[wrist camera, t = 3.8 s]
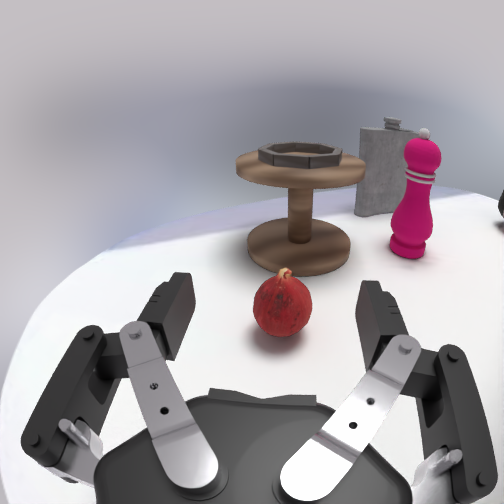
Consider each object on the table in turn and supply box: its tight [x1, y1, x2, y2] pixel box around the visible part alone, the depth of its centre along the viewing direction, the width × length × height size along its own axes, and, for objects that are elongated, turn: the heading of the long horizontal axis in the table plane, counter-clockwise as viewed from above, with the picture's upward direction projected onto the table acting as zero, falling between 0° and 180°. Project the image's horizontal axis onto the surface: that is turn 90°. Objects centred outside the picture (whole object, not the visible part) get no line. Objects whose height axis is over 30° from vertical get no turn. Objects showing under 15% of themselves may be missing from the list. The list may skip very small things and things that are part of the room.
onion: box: [253, 268, 312, 337], centre depth 28 cm, size 6×6×8 cm
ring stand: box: [236, 142, 366, 276], centre depth 42 cm, size 18×18×16 cm
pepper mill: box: [390, 128, 441, 259], centre depth 39 cm, size 7×7×20 cm
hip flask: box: [354, 117, 420, 217], centre depth 53 cm, size 16×4×20 cm, turn 103°
